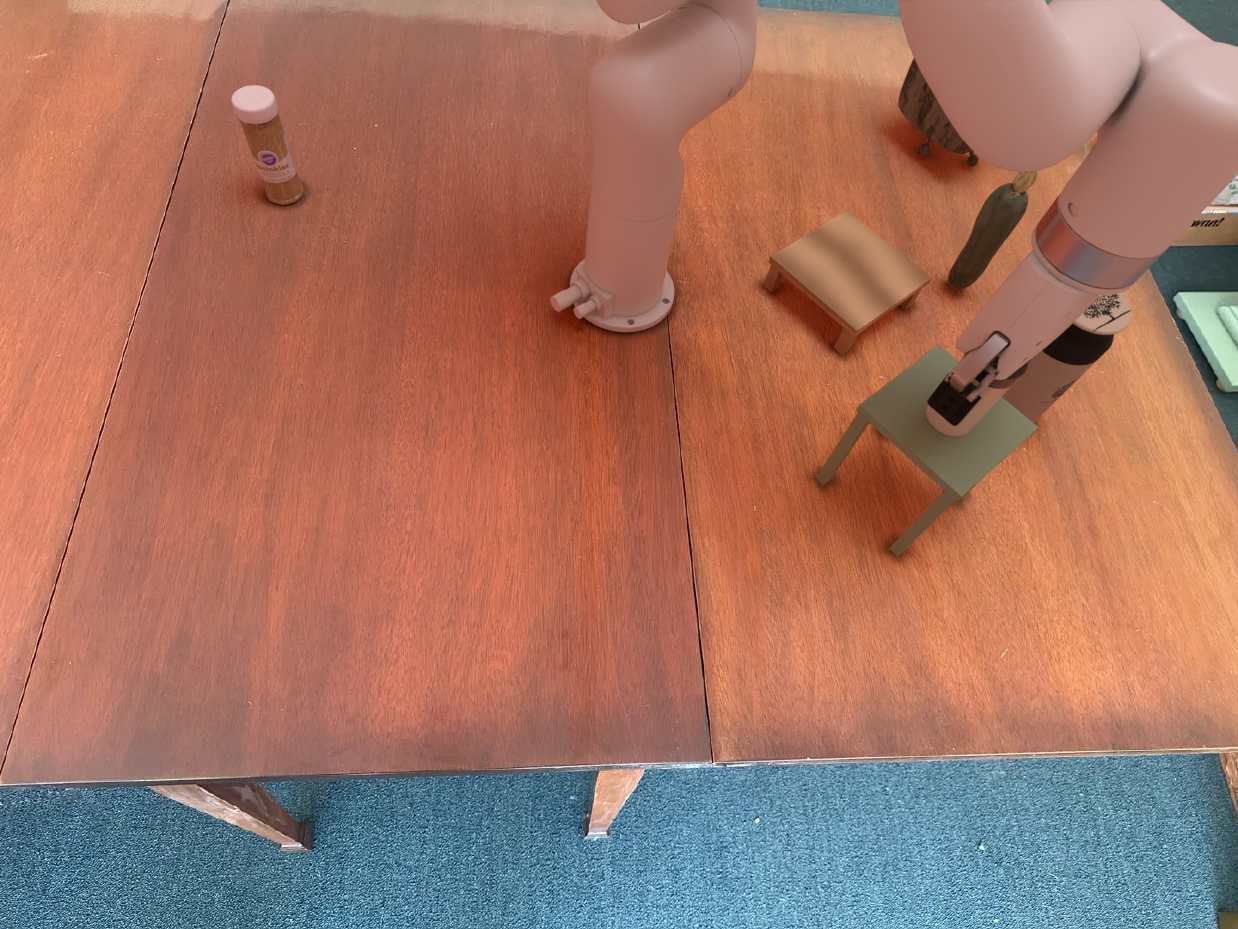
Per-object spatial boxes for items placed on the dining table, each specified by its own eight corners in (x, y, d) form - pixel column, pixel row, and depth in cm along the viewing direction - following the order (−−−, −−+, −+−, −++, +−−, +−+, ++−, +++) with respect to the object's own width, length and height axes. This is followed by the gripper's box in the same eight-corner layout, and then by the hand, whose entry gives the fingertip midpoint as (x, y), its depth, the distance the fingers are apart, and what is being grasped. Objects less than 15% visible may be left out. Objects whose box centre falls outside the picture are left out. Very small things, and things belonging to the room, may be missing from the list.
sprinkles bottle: (270, 209, 96) (233, 112, 84) (263, 184, 98) (226, 86, 86) (308, 201, 97) (277, 105, 85) (300, 177, 99) (269, 80, 87)
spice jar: (954, 447, 70) (1006, 389, 62) (913, 411, 72) (959, 350, 64) (985, 420, 72) (1039, 360, 64) (945, 386, 73) (993, 323, 66)
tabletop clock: (987, 169, 112) (1094, -7, 91) (945, 190, 109) (1045, 12, 88) (917, 112, 118) (1002, -68, 96) (874, 130, 115) (953, -52, 93)
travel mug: (952, 389, 91) (1037, 282, 76) (1004, 371, 93) (1098, 263, 78) (992, 444, 88) (1090, 343, 72) (1046, 424, 90) (1152, 322, 75)
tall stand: (897, 560, 80) (961, 496, 67) (812, 478, 83) (859, 404, 71) (966, 497, 84) (1038, 427, 72) (883, 422, 88) (938, 344, 76)
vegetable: (967, 306, 98) (1058, 177, 81) (933, 299, 98) (1017, 168, 81) (966, 281, 101) (1055, 150, 83) (933, 273, 101) (1015, 141, 83)
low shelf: (842, 358, 92) (857, 330, 88) (759, 285, 97) (770, 256, 93) (915, 305, 98) (932, 277, 93) (833, 239, 102) (846, 209, 98)
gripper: (1116, 160, 57) (996, 316, 72) (978, 259, 51) (877, 408, 66) (1206, 219, 55) (1062, 368, 70) (1074, 332, 48) (946, 470, 63)
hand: (973, 387), depth 68 cm, fingers open, 8 cm apart
